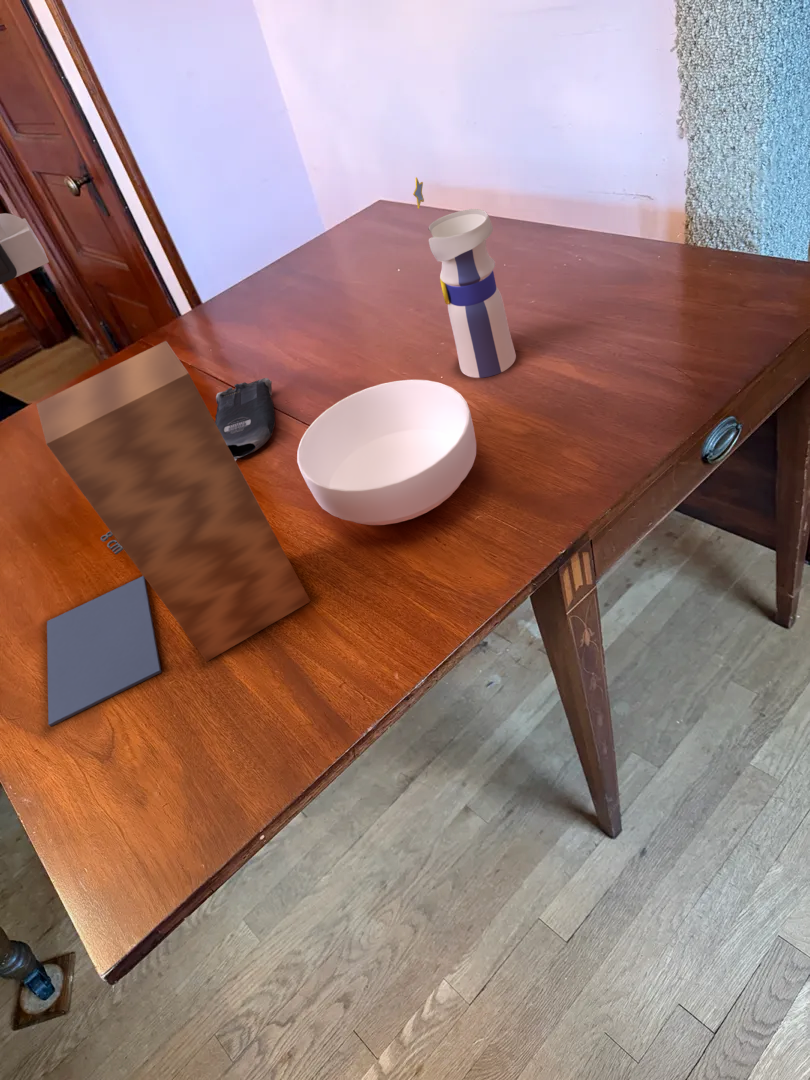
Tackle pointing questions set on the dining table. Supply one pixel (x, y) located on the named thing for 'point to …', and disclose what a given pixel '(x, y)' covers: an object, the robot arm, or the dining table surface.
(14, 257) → the white boxy piece
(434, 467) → the bowl
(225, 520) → the block
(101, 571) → the dining table surface
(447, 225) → the water bottle
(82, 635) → the mouse pad
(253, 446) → the electronic device
